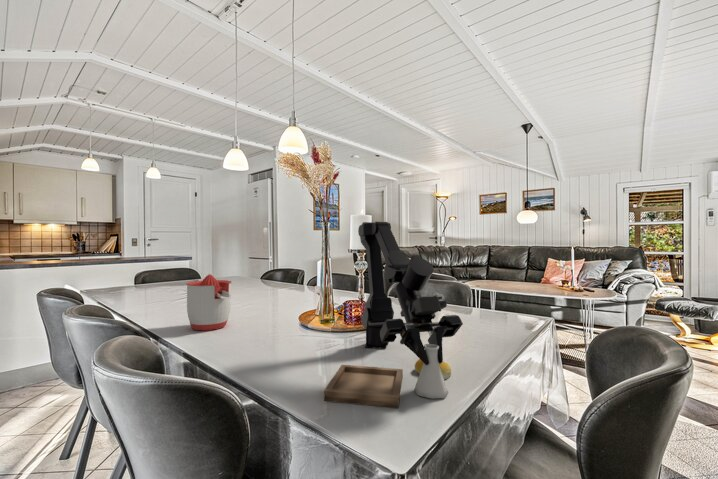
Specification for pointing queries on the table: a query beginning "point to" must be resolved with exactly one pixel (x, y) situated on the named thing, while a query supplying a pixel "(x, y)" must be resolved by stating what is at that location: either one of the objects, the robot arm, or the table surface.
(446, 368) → the bread roll
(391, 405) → the walnut tray
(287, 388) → the table surface
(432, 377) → the flask
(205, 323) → the citrus juicer
